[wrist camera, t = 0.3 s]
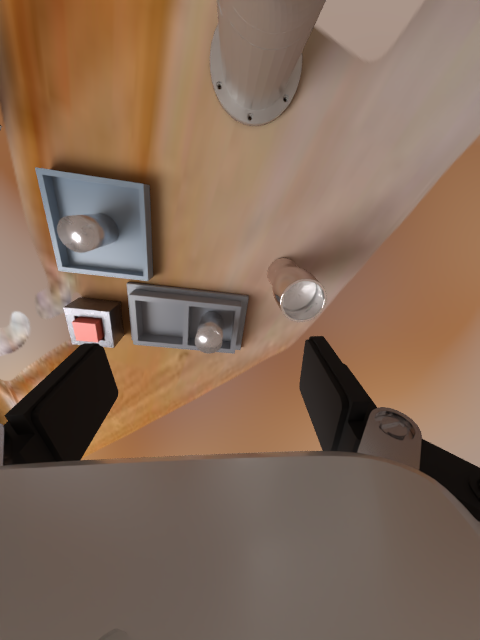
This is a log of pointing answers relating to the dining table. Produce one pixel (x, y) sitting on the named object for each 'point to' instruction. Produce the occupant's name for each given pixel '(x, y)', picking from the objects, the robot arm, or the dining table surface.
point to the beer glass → (296, 290)
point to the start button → (88, 329)
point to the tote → (101, 198)
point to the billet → (87, 231)
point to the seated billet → (209, 332)
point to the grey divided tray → (182, 315)
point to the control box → (97, 309)
